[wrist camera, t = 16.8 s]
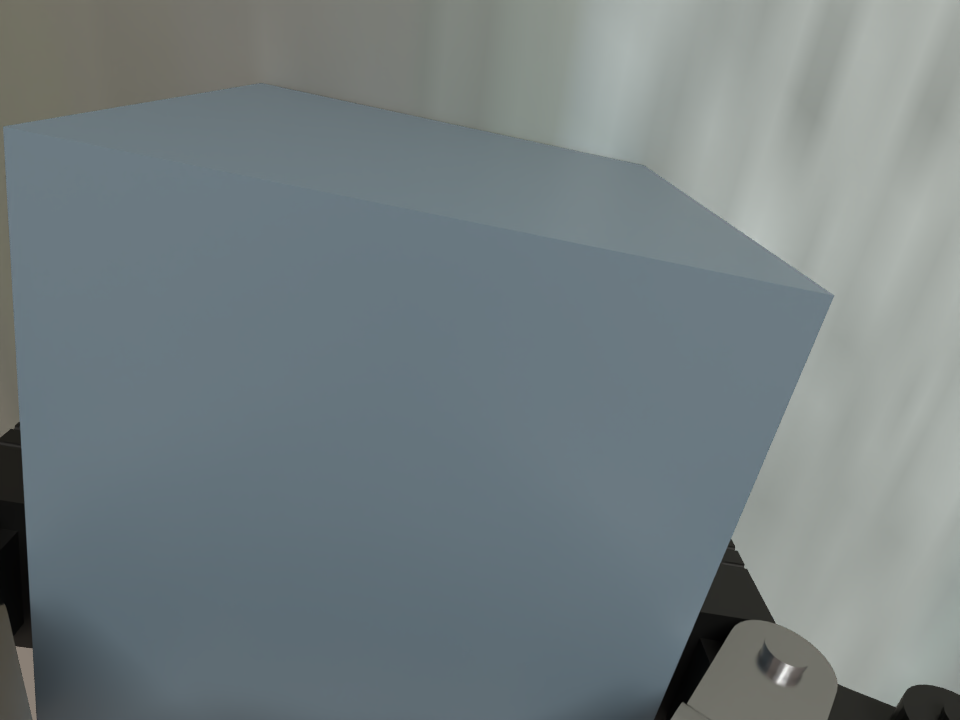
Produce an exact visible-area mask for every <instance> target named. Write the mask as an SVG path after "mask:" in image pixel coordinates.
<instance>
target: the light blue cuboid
mask: <svg viewBox="0 0 960 720" xmlns="http://www.w3.org/2000/svg"><path fill="white" fill-rule="evenodd" d="M3 131H4V149H5V166H6V184H7V202H8V219H9V237H10V255H11V272H12V290H13V308H14V325H15V343H16V361H17V378H18V396H19V414H20V431H21V449H22V467H23V485H24V502H25V520H26V538H27V555H28V573H29V591H30V608H31V626H32V644H33V661H34V677H35V678H34V679H35V696H36V713H37V720H654V718H655V716H656V713H657V711H658V709H659V706H660V704H661V702H662V699H663V697H664V695H665V692H666V690H667V688H668V685H669V683H670V681H671V678H672V676H673V673H674V671H675V669H676V666H677V664H678V662H679V659H680V657H681V655H682V652H683V650H684V648H685V645H686V643H687V641H688V638H689V636H690V634H691V631H692V629H693V626H694V624H695V622H696V619H697V617H698V615H699V612H700V610H701V608H702V605H703V603H704V601H705V598H706V596H707V594H708V591H709V589H710V586H711V584H712V582H713V579H714V577H715V575H716V572H717V570H718V568H719V565H720V563H721V561H722V558H723V556H724V554H725V551H726V549H727V546H728V544H729V542H730V539H731V537H732V535H733V532H734V530H735V528H736V525H737V523H738V521H739V518H740V516H741V514H742V511H743V509H744V506H745V504H746V502H747V499H748V497H749V495H750V492H751V490H752V488H753V485H754V483H755V481H756V478H757V476H758V474H759V471H760V469H761V467H762V464H763V462H764V459H765V457H766V455H767V452H768V450H769V448H770V445H771V443H772V441H773V438H774V436H775V434H776V431H777V429H778V427H779V424H780V422H781V419H782V417H783V415H784V412H785V410H786V408H787V405H788V403H789V401H790V398H791V396H792V394H793V391H794V389H795V387H796V384H797V382H798V379H799V377H800V375H801V372H802V370H803V368H804V365H805V363H806V361H807V358H808V356H809V354H810V351H811V349H812V347H813V344H814V342H815V339H816V337H817V335H818V332H819V330H820V328H821V325H822V323H823V321H824V318H825V316H826V314H827V311H828V309H829V307H830V304H831V302H832V299H833V297H834V295H833V294H831V293H830V292H828V291H827V290H825V289H824V288H822V287H821V286H819V285H818V284H817V283H815V282H814V281H812V280H811V279H809V278H808V277H806V276H805V275H803V274H802V273H800V272H799V271H798V270H796V269H795V268H793V267H792V266H790V265H789V264H787V263H786V262H784V261H783V260H781V259H780V258H779V257H777V256H776V255H774V254H773V253H771V252H770V251H768V250H767V249H765V248H764V247H762V246H761V245H760V244H758V243H757V242H755V241H754V240H752V239H751V238H749V237H748V236H746V235H745V234H743V233H742V232H741V231H739V230H738V229H736V228H735V227H733V226H732V225H730V224H729V223H727V222H726V221H724V220H723V219H722V218H720V217H719V216H717V215H716V214H714V213H713V212H711V211H710V210H708V209H707V208H705V207H704V206H703V205H701V204H700V203H698V202H697V201H695V200H694V199H692V198H691V197H689V196H688V195H686V194H685V193H684V192H682V191H681V190H679V189H678V188H676V187H675V186H673V185H672V184H670V183H669V182H667V181H666V180H665V179H663V178H662V177H660V176H659V175H657V174H656V173H654V172H653V171H651V170H650V169H648V168H647V167H646V166H644V165H639V164H634V163H630V162H625V161H620V160H616V159H611V158H607V157H602V156H597V155H593V154H588V153H583V152H579V151H574V150H569V149H565V148H560V147H555V146H551V145H546V144H542V143H537V142H532V141H528V140H523V139H518V138H514V137H509V136H504V135H500V134H495V133H491V132H486V131H481V130H477V129H472V128H467V127H463V126H458V125H453V124H449V123H444V122H439V121H435V120H430V119H426V118H421V117H416V116H412V115H407V114H402V113H398V112H393V111H388V110H384V109H379V108H374V107H370V106H365V105H361V104H356V103H351V102H347V101H342V100H337V99H333V98H328V97H323V96H319V95H314V94H310V93H305V92H300V91H296V90H291V89H286V88H282V87H277V86H272V85H268V84H263V83H259V84H253V85H247V86H241V87H235V88H229V89H223V90H217V91H211V92H205V93H200V94H194V95H188V96H182V97H176V98H170V99H164V100H158V101H152V102H146V103H140V104H134V105H128V106H122V107H116V108H111V109H105V110H99V111H93V112H87V113H81V114H75V115H69V116H63V117H57V118H51V119H45V120H39V121H33V122H27V123H22V124H16V125H10V126H4V127H3Z"/></svg>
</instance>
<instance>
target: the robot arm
mask: <svg viewBox="0 0 960 720" xmlns="http://www.w3.org/2000/svg"><path fill="white" fill-rule="evenodd" d="M15 646H19V647H26V648H33V644H32V626H31V608H30V591H29V573H28V555H27V538H26V520H25V502H24V485H23V467H22V449H21V431H20V422H19V423H18V424H16V425H15V428H14V429H10V430H9V431H8V432H7V433H5V434H4V435H3V436H2V437H1V438H0V720H32V716H31V712H30V707H29V703H28V698H27V694H26V690H25V686H24V681H23V677H22V673H21V668H20V664H19V660H18V655H17V651H16V647H15ZM654 720H960V695H958V694H956V693H954V692H952V691H949V690H946V689H944V688H940V687H937V686H932V685H916V686H912V687H910V688H909V689H907V691H906V692H905V693H904V695H903V697H902V698H901V700H900V702H899V703H898V705H897V707H893V706H891V705H888V704H886V703H883V702H881V701H878V700H876V699H873V698H871V697H868V696H866V695H863V694H861V693H858V692H856V691H853V690H851V689H848V688H846V687H843V686H841V685H839V684H838V683H837V678H836V675H835V672H834V670H833V668H832V666H831V665H830V663H829V662H828V661H827V659H826V658H825V657H824V656H823V654H822V653H821V652H820V651H819V650H818V649H817V648H816V647H814V646H813V645H812V644H811V643H810V642H808V641H807V640H806V639H804V638H803V637H801V636H800V635H798V634H797V633H795V632H793V631H791V630H789V629H787V628H785V627H783V626H780V625H778V624H776V623H775V621H774V619H773V617H772V616H771V614H770V612H769V610H768V608H767V606H766V604H765V602H764V600H763V599H762V597H761V595H760V593H759V591H758V589H757V587H756V585H755V583H754V581H753V580H752V578H751V576H750V574H749V572H748V570H747V569H744V563H743V561H742V559H741V557H740V555H739V553H738V551H735V545H734V544H733V542H732V540H731V539H730V542H729V544H728V546H727V549H726V551H725V554H724V556H723V558H722V561H721V563H720V565H719V568H718V570H717V572H716V575H715V577H714V579H713V582H712V584H711V586H710V589H709V591H708V594H707V596H706V598H705V601H704V603H703V605H702V608H701V610H700V612H699V615H698V617H697V619H696V622H695V624H694V626H693V629H692V631H691V634H690V636H689V638H688V641H687V643H686V645H685V648H684V650H683V652H682V655H681V657H680V659H679V662H678V664H677V666H676V669H675V671H674V673H673V676H672V678H671V681H670V683H669V685H668V688H667V690H666V692H665V695H664V697H663V699H662V702H661V704H660V706H659V709H658V711H657V713H656V716H655V718H654Z"/></svg>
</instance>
